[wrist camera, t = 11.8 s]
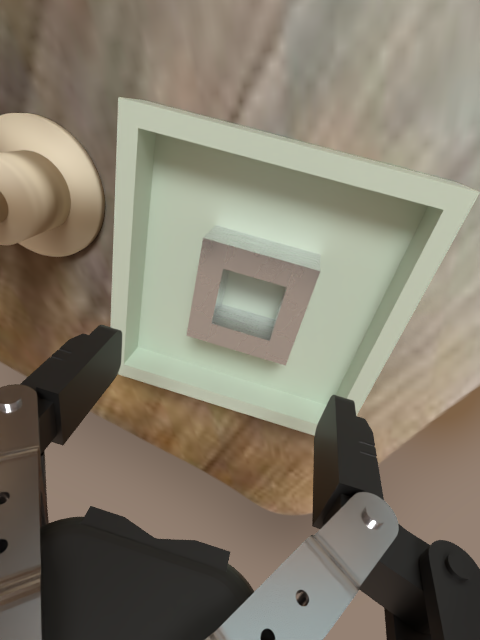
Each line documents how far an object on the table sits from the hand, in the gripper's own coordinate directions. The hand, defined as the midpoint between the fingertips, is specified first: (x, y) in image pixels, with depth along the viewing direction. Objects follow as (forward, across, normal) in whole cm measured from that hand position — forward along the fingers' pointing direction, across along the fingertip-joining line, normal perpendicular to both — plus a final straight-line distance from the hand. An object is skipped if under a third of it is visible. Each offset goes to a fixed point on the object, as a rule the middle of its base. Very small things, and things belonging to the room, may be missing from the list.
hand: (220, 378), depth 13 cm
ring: (+9, 0, 0) cm, 9 cm away
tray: (+10, 0, 0) cm, 10 cm away
